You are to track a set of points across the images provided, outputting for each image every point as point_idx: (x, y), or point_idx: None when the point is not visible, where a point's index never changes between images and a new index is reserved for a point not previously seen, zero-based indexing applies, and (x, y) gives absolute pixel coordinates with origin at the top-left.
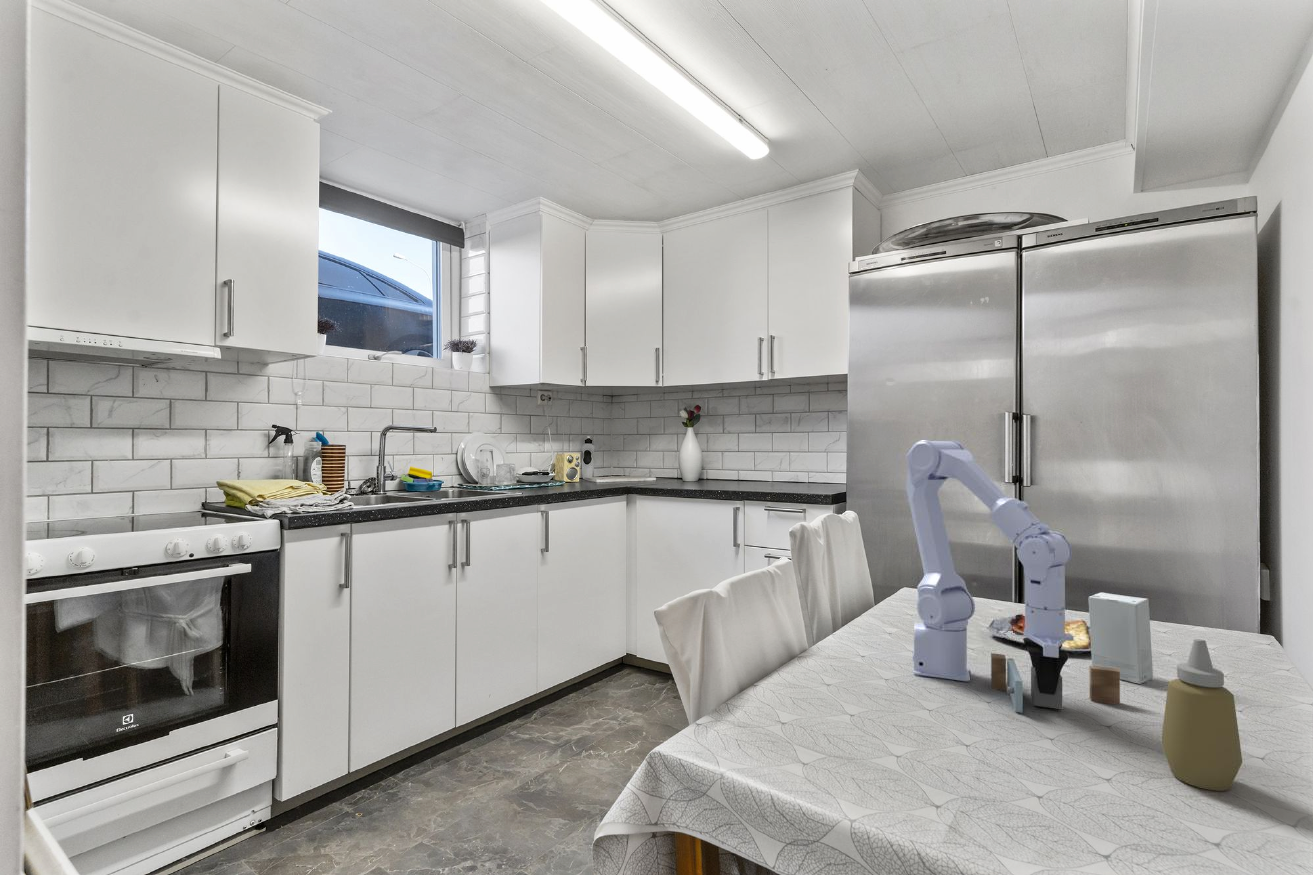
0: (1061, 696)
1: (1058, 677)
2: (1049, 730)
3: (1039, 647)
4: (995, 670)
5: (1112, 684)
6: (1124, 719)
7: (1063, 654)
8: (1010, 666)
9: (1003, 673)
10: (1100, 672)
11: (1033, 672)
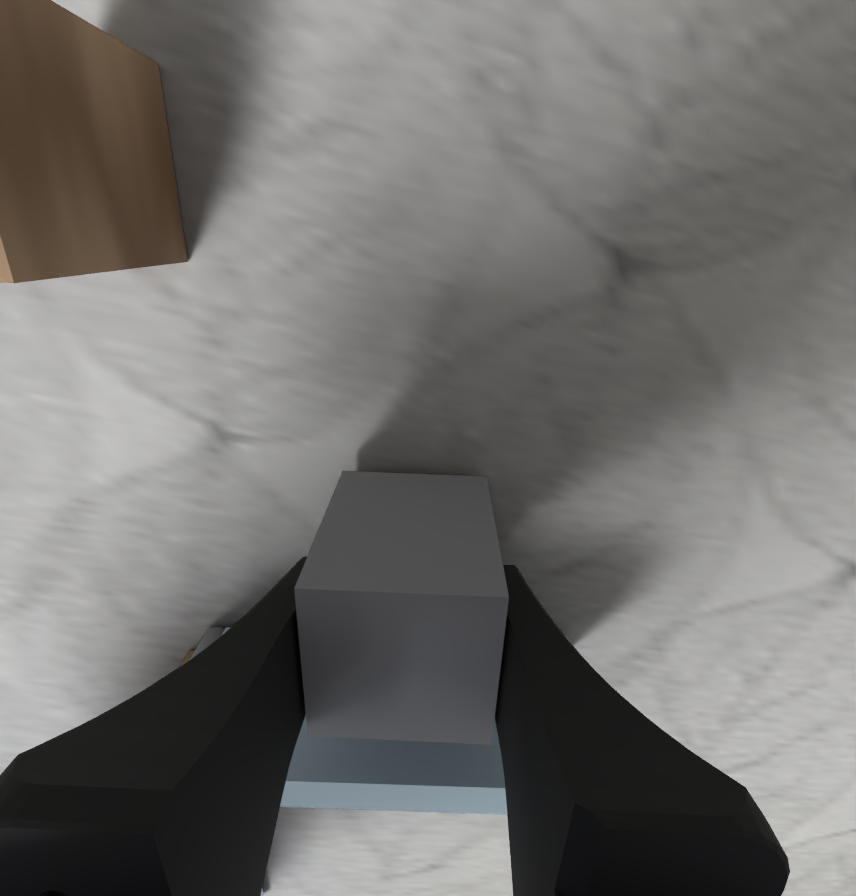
0: (492, 518)
1: (570, 643)
2: (748, 561)
3: (235, 891)
4: None
5: (67, 79)
6: (462, 114)
7: (679, 862)
8: (314, 805)
9: None
10: (14, 185)
11: (439, 739)
